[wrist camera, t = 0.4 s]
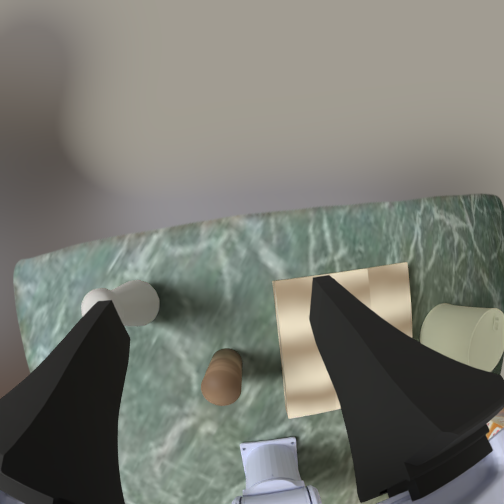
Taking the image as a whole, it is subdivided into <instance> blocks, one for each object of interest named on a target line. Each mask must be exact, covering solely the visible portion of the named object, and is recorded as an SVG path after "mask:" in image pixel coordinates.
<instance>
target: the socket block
mask: <svg viewBox="0 0 504 504" xmlns="http://www.w3.org/2000/svg"><path fill="white" fill-rule="evenodd" d="M325 275H330V276H331V277H332V278H334V279H335V280H336V281H337V282H338V283H340V284H341V285H342V286H343V287H344V288H345V289H347V290H348V291H349V292H350V293H351V294H353V295H354V296H355V297H356V298H357V299H359V300H360V301H361V302H362V303H363V304H365V305H366V306H367V307H368V308H370V309H371V310H372V311H374V312H375V313H376V314H378V315H379V316H380V317H381V318H383V319H384V320H386V321H387V322H388V323H390V324H391V325H393V326H394V327H396V328H397V329H399V330H400V331H402V332H403V333H405V334H406V335H408V336H410V337H411V338H412V312H411V296H410V284H409V274H408V265H407V262H404V263H396V264H390V265H383V266H377V267H371V268H364V269H357V270H351V271H344V272H337V273H330V274H322V275H315V276H308V277H300V278H292V279H284V280H276V281H272V283H273V291H274V300H275V309H276V318H277V327H278V336H279V346H280V355H281V365H282V375H283V385H284V395H285V405H286V411H287V414H288V418H289V419H290V418H296V417H302V416H308V415H313V414H318V413H323V412H327V411H332V410H336V409H340V408H341V407H340V403H339V400H338V397H337V394H336V391H335V389H334V386H333V384H332V382H331V379H330V377H329V374H328V372H327V369H326V367H325V365H324V362H323V360H322V357H321V355H320V352H319V350H318V348H317V345H316V342H315V339H314V335H313V332H312V328H311V324H310V321H309V315H310V304H311V293H312V280H313V277H319V276H325Z"/></svg>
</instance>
